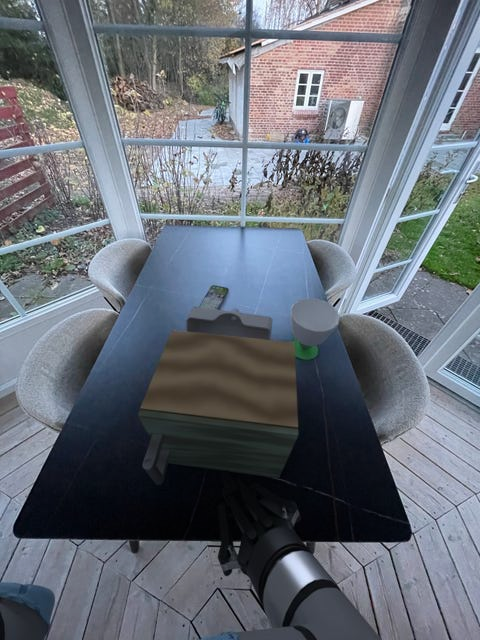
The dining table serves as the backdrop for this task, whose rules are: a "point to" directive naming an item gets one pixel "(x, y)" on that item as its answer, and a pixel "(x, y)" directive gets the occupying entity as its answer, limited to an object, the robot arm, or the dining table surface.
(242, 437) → the cupboard door
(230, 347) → the cupboard
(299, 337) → the cup
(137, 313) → the dining table surface
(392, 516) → the dining table surface
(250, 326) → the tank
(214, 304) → the smartphone
